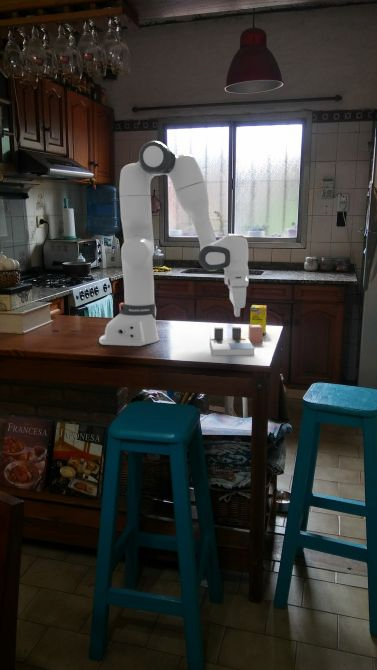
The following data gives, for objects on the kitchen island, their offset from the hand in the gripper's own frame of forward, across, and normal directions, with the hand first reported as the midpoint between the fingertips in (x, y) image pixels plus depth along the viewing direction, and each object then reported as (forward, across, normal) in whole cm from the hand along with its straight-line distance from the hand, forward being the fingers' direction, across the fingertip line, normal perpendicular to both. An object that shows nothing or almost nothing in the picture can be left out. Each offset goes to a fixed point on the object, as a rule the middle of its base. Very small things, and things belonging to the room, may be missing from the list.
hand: (237, 316), depth 199 cm
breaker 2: (+7, +5, -1) cm, 9 cm away
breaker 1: (+7, +5, -7) cm, 12 cm away
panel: (+10, +11, -4) cm, 15 cm away
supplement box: (+10, -13, +10) cm, 19 cm away
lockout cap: (+10, +1, +6) cm, 12 cm away
